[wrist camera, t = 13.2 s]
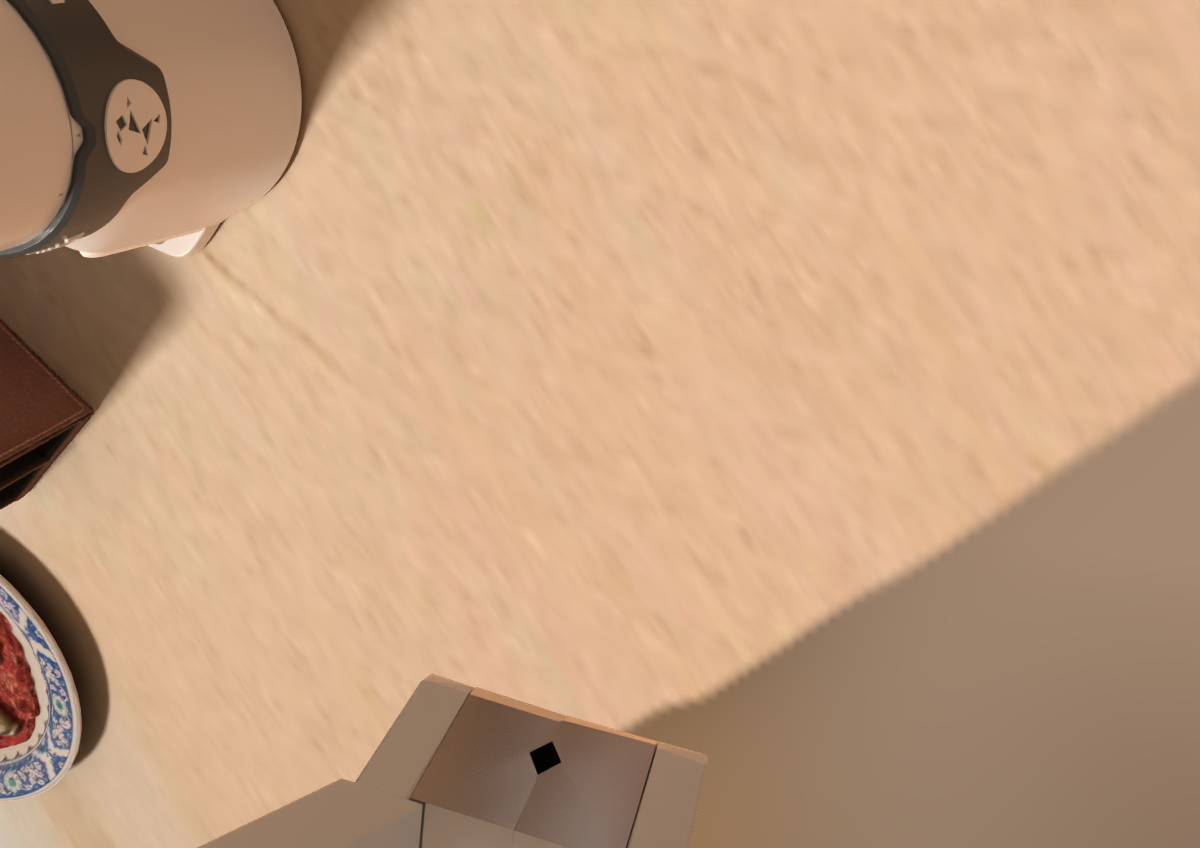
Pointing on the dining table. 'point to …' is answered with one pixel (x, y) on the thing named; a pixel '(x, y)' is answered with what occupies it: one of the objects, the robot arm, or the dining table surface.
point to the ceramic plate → (33, 702)
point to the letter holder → (31, 417)
